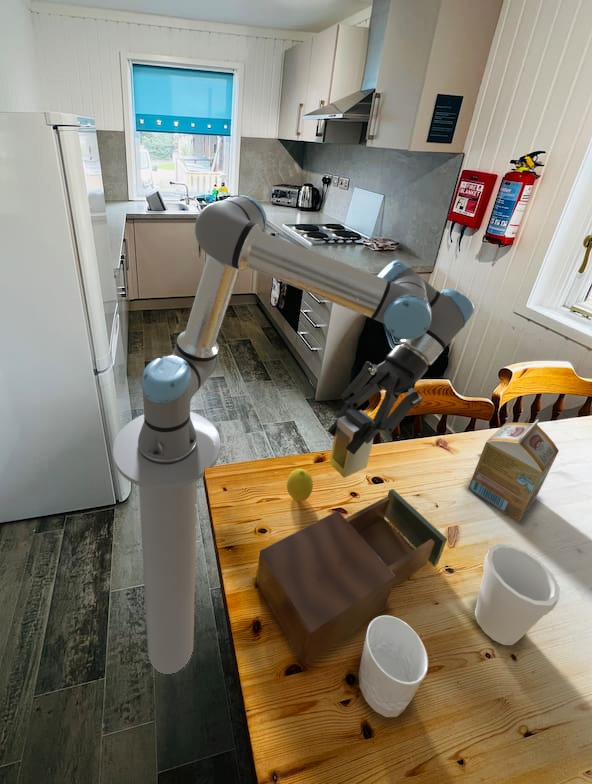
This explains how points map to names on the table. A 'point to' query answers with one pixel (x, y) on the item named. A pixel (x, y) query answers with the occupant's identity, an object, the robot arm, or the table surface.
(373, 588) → the cabinet
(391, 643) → the white cup
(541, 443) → the milk carton
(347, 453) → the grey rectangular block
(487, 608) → the foam cup
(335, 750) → the table surface
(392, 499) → the drawer
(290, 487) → the lemon
